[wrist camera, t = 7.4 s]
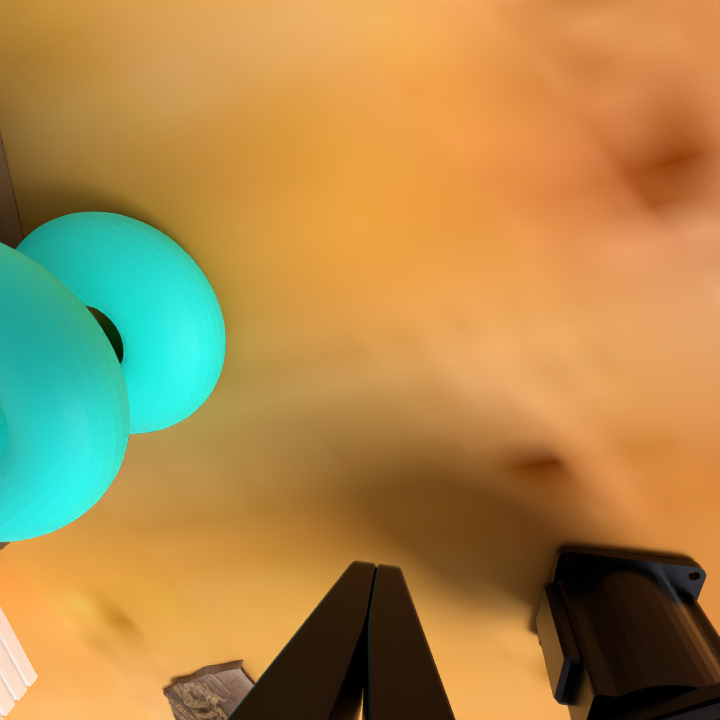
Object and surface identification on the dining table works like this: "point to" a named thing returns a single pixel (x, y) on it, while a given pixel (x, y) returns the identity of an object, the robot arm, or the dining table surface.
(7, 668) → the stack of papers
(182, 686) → the wooden fragment
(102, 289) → the donuts
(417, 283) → the dining table surface
